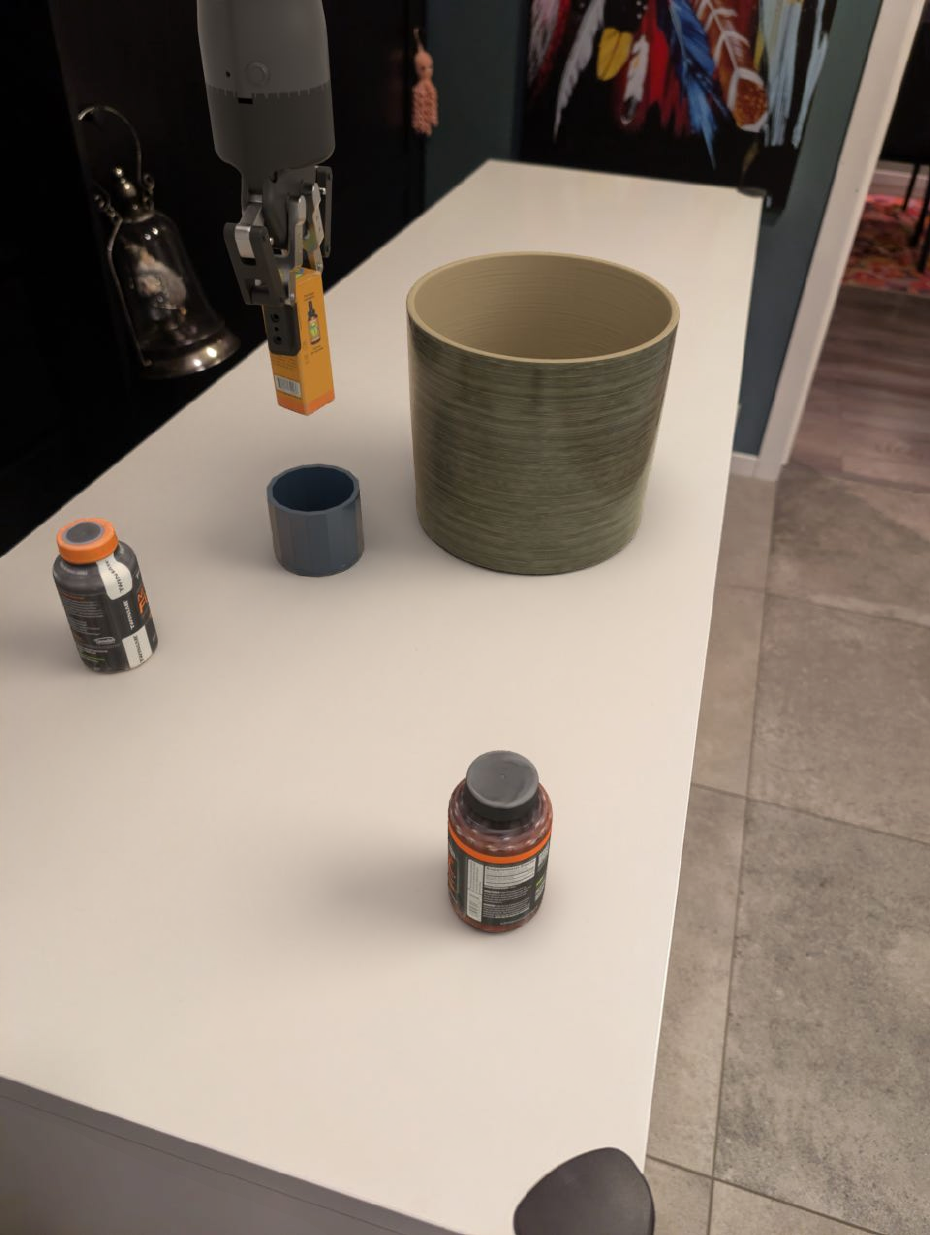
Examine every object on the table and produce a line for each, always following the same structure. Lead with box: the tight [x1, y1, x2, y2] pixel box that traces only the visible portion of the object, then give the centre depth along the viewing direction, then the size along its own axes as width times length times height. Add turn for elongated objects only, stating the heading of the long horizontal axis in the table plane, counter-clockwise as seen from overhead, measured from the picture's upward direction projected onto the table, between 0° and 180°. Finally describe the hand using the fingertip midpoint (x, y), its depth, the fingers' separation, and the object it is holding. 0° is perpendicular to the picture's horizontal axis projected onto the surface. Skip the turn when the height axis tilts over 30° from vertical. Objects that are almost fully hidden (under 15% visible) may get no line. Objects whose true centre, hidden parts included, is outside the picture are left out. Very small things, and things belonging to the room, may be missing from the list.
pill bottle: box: [51, 517, 159, 673], centre depth 72 cm, size 6×6×11 cm
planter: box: [405, 250, 681, 575], centre depth 84 cm, size 22×22×20 cm
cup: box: [266, 463, 365, 577], centre depth 83 cm, size 8×8×6 cm
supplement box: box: [261, 267, 336, 417], centre depth 69 cm, size 3×3×10 cm
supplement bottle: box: [447, 749, 554, 933], centre depth 56 cm, size 6×6×11 cm
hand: (296, 338), depth 69 cm, fingers closed on supplement box, 4 cm apart
